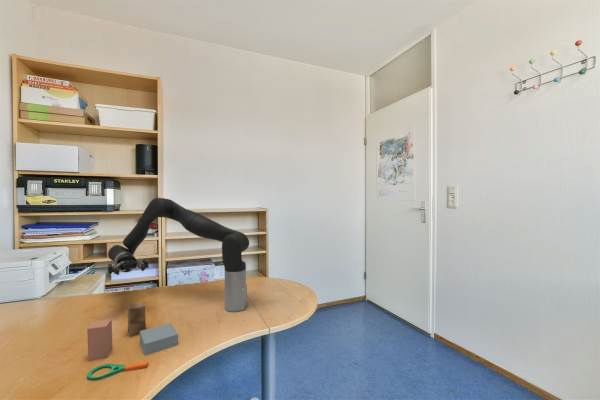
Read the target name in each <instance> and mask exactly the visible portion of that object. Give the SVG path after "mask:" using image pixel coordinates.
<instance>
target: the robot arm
mask: <svg viewBox="0 0 600 400" xmlns="http://www.w3.org/2000/svg"><path fill="white" fill-rule="evenodd" d="M158 218H166V219H170V220H172V221H176V222H178V223H179V224H181V226H182V227H183V229H185V230H186V231H188V233H191V234H193V235H195V236H198V237H199V238H204V239H207V240H214V241H218V242H221V258H222V264H223V267H224V310H226V311H227V312H234V313H235V312H240V311H245V309H246V308H247V305H248V284H247V270H246V269H247V264H246V263H247V262H245V261H243V257H242V253H243V252H244V251H246V250H247V249H248V248H249V246H250V241H249V237H248V236H247V235H246V234H245V233H243V232H241V231H238V230H235V229H232V228H229V227H226V226H225V225H222V224H220V223H219V222H217V221H214V220H212V219H210V217H209V218H208V217H207V216H204V215H202V214H200V213H198V212H195V211H193V210H191V209H187V208H185V207H184V206H182V205H180V204H178V203H177V202H175V201H173V200H172V199H168V198H164V197H163V198H162V197H156V198H155V197H154V198H153V199H151V201H149V203H148V205H147V206H146V208H145V210H144V211H143V213H142V214H141V216H140V218H139V219H138V221H137V222H136V224H135V226H134V227H133V228H132V229H131V231H130V232H129V233H128V234H127V235H126V236H125V237H124V239H123V240H122V245H123V246H122V245H120V244H115V245H113V246H111V247H110V248H109V250H108V252H107V257H108V259H110V261H113V262H114V264H112V263H108V264H107V273H108V274H112V273H113V274H114V275H116V276H118V275H120V273H130V272H132V271H133V270H136V271H137V270H140V271H142V272H144V271H145V270H146V269H148V268H149V263H150V262H149V261H148V260H147V259H142V260H141V261H140V260H137V259H136V257H135V256H134V255H135V252H136V250H137V249H138V248H139V246H140V245H141V244H142V243H143V241H144V240H145V239H146V237H147V236H148V232H149V229H150V226H151V224H152V223H153V222H154V221H155V220H156V219H158Z"/></svg>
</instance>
